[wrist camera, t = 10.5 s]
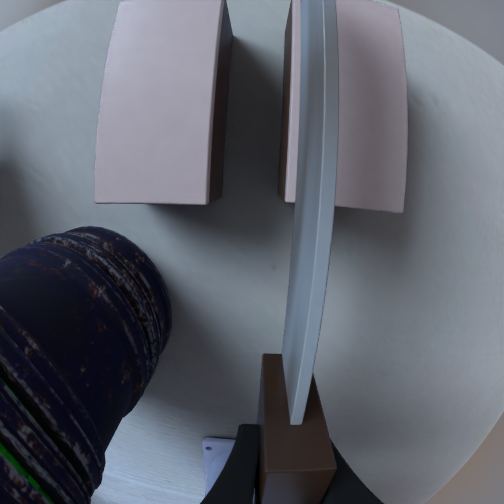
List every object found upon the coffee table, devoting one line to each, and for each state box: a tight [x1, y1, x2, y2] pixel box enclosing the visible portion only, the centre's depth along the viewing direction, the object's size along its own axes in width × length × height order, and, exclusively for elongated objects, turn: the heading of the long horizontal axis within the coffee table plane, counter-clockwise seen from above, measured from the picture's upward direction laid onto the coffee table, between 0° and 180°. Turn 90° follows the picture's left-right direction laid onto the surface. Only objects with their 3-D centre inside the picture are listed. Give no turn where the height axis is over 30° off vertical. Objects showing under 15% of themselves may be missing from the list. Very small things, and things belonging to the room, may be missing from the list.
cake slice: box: [278, 0, 408, 213], centre depth 11 cm, size 9×4×5 cm, turn 177°
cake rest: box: [95, 0, 233, 205], centre depth 11 cm, size 9×4×5 cm, turn 177°
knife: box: [253, 0, 339, 504], centre depth 6 cm, size 20×2×5 cm, turn 177°
